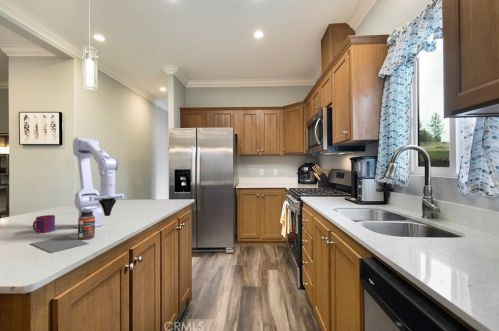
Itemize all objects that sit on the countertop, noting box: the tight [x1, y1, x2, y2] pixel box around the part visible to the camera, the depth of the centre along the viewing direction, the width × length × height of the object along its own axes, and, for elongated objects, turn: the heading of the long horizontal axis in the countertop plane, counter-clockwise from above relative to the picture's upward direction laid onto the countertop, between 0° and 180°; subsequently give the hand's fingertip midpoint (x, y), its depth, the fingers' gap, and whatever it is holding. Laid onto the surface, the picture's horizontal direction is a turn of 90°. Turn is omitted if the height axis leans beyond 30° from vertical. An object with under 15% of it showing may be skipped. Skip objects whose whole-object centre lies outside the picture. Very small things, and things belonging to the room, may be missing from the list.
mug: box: [32, 214, 56, 234], centre depth 109 cm, size 7×10×7 cm
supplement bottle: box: [77, 210, 96, 241], centre depth 101 cm, size 6×6×11 cm
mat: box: [29, 235, 89, 254], centre depth 93 cm, size 12×18×1 cm, turn 59°
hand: (107, 215), depth 109 cm, fingers closed
